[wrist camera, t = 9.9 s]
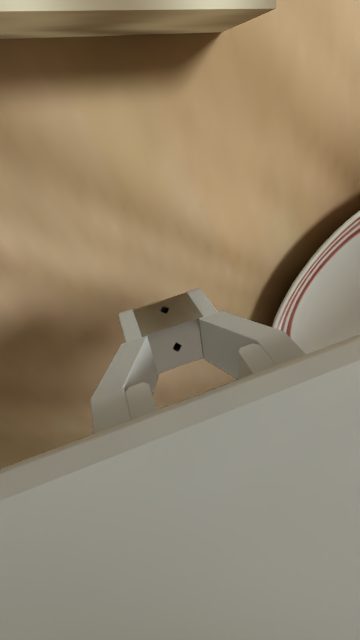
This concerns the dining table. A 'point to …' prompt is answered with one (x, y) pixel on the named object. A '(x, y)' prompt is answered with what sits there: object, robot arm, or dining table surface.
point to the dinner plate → (325, 293)
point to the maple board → (123, 17)
